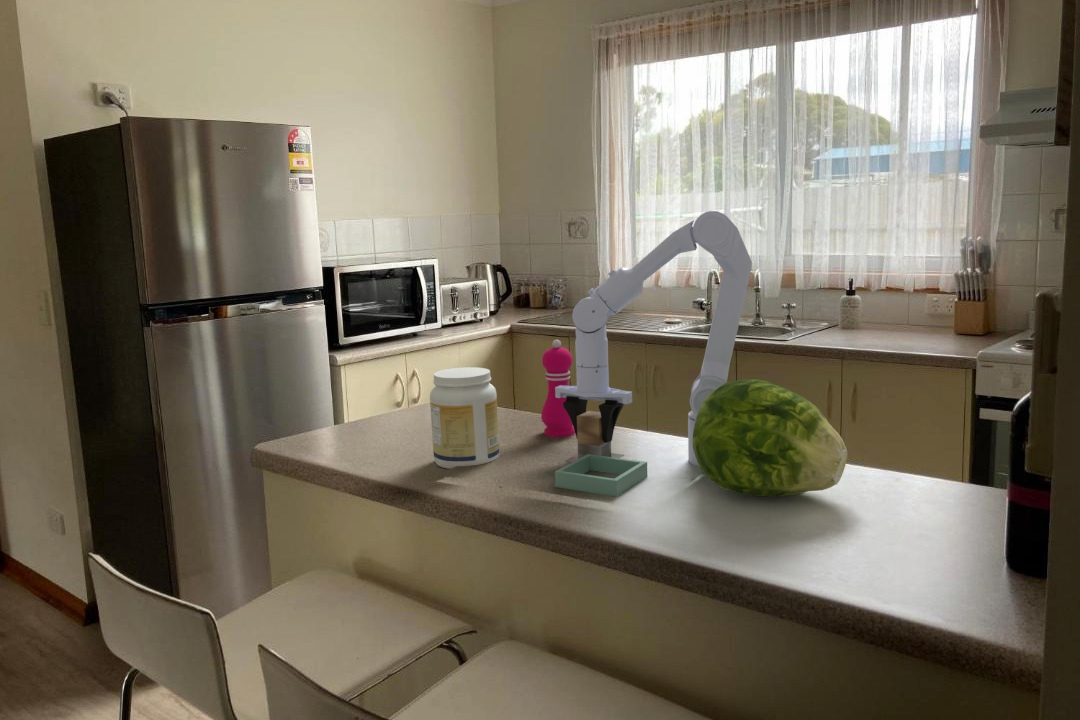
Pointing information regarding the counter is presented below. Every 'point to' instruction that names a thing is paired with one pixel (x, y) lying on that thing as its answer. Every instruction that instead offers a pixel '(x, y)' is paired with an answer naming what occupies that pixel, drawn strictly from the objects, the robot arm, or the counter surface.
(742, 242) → the robot arm
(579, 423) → the strut
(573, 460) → the base
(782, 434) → the lettuce
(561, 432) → the pepper mill
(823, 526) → the counter surface
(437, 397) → the supplement tub
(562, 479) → the bin
